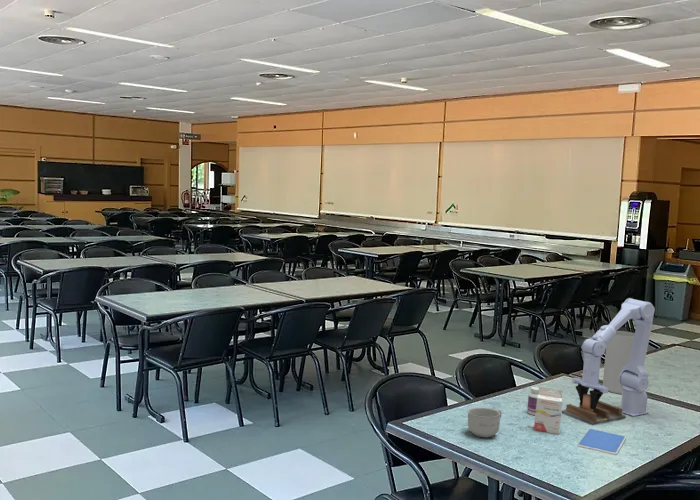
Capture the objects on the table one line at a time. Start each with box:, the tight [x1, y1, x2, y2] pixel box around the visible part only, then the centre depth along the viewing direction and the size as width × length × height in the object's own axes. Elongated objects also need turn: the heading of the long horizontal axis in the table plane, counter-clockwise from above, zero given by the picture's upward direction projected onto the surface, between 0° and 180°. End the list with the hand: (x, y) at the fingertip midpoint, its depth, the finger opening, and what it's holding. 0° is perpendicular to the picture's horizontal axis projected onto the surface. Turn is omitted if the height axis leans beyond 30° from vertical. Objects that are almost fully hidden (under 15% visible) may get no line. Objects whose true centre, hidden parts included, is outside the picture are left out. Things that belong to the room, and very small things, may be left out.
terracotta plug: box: [582, 393, 593, 412], centre depth 250 cm, size 4×4×6 cm
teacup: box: [467, 407, 502, 438], centre depth 226 cm, size 14×11×8 cm
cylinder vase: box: [602, 330, 635, 395], centre depth 289 cm, size 12×12×25 cm
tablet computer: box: [576, 428, 627, 456], centre depth 225 cm, size 19×13×1 cm, turn 149°
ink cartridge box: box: [533, 385, 563, 435], centre depth 233 cm, size 9×5×15 cm, turn 71°
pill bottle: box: [526, 386, 539, 416], centre depth 251 cm, size 5×5×10 cm
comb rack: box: [561, 400, 627, 426], centre depth 253 cm, size 19×14×4 cm
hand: (588, 406), depth 251 cm, fingers closed on terracotta plug, 4 cm apart
